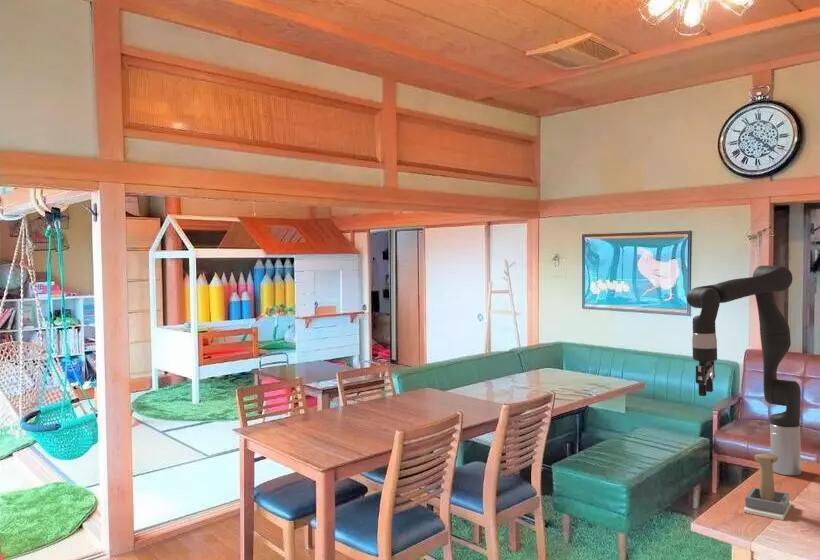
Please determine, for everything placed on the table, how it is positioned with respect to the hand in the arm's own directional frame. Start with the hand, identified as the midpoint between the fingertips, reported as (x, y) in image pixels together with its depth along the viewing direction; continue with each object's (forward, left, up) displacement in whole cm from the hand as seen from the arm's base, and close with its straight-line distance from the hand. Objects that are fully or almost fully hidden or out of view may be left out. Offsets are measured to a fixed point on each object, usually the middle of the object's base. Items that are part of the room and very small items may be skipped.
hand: (706, 393), depth 206 cm
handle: (+8, +19, -31) cm, 37 cm away
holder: (+9, +19, -32) cm, 38 cm away
